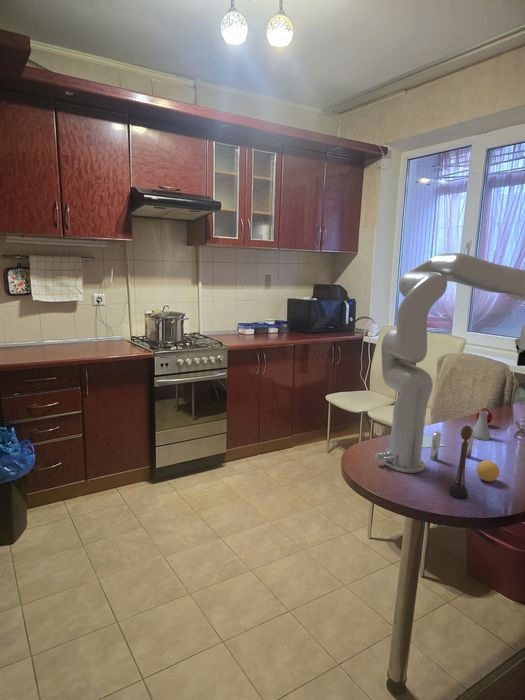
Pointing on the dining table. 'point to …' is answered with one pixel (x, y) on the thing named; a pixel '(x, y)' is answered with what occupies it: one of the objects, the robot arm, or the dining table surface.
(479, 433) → the flask
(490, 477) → the ball
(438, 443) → the left post
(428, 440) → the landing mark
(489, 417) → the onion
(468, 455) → the right post
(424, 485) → the dining table surface
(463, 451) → the wooden tabletop sculpture
